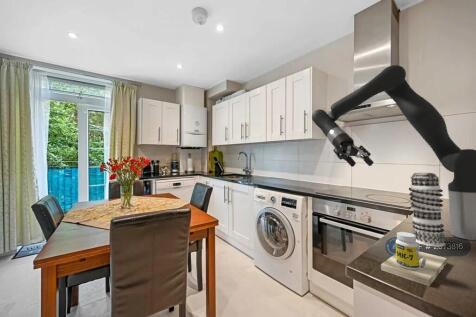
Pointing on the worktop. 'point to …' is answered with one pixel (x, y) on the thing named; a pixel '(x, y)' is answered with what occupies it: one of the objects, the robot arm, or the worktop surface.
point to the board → (423, 275)
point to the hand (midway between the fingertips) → (363, 164)
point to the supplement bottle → (407, 251)
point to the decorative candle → (427, 209)
